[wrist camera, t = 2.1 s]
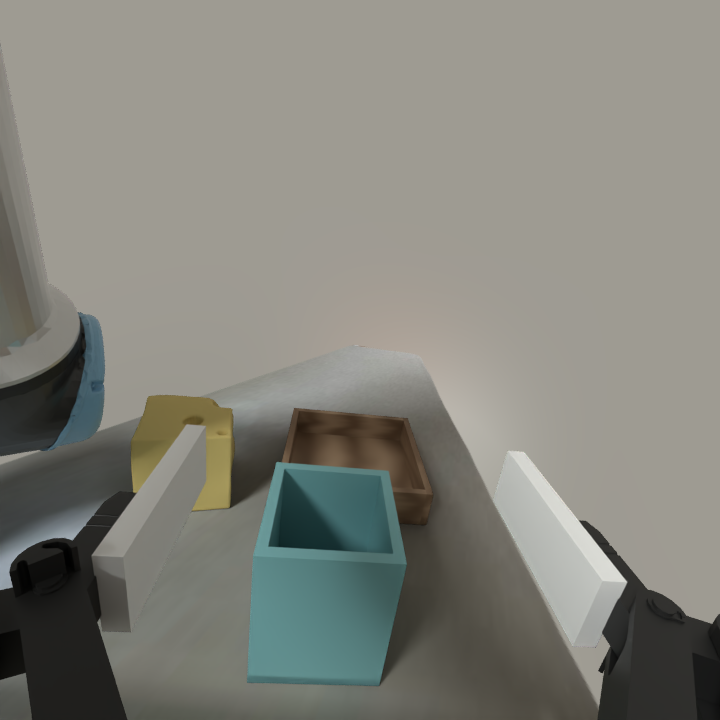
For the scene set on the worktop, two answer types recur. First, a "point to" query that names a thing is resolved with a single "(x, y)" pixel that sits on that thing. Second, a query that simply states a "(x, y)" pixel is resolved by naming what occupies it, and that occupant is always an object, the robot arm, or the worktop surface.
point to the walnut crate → (364, 453)
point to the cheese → (164, 427)
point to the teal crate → (325, 577)
